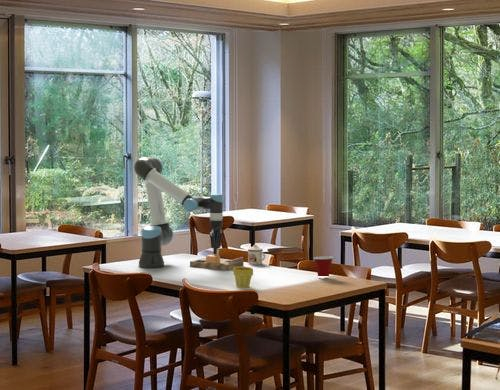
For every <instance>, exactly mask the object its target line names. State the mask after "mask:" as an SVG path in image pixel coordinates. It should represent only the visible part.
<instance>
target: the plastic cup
mask: <svg viewBox="0 0 500 390" xmlns="http://www.w3.org/2000/svg"><path fill="white" fill-rule="evenodd" d="M333 258H334V256H329V255H328V256H323V255H321V256H315V257H313V259H314V262H315V266H316V267H315V268H316V273H317V277H318V276H329V277H330V273H331V267H332V263H333V262H332V261H333Z"/></svg>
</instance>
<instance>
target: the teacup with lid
mask: <svg viewBox="0 0 500 390" xmlns="http://www.w3.org/2000/svg"><path fill="white" fill-rule="evenodd" d="M265 259H266V254H265V253H264V252H263V248H262V247H260V246H258V245H257V244H253V246H251V247H248V248H247V264H248V263H249V264H248V265H251V264H253V265H252V266H255V265H256V266H257V265H262V264H263V262H264V260H265Z"/></svg>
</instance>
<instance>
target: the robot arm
mask: <svg viewBox="0 0 500 390" xmlns="http://www.w3.org/2000/svg"><path fill="white" fill-rule="evenodd" d="M163 169H164V168H163V163H162V161H161V160H160V158H157V157H154V156H147V157H140V158H139V159H137V160H136V161H135V162H134V166H133V170H134V173H135V174H136V175H137V176H138V177H139V178H140V179H142V181H143V183H145V188H146V193H147V201H148V206H149V213H150V219H151V223H150V224H149V226H144V227H142V229H141V233H140V234H141V254H140V258H139V261H138V267H140V268H144V269H157V268H163V267H165V261H164V258H163V254H162V246H166V245H168V244H170V243H171V242H172V240H173V239H174V231H173V229H172V227H170V223H169V221H168V220H167V219H166V214H165V208H164V202H163V195H162V192H163V193H164V194H166V195H167V196H169V197H170V198H171V199H173V200H174V201H176V203H179V204H180V205H182V206H183V208H184V210H185V211H186V212H189V213H191V212H195V211H199V210H200V211H201V210H209V226H210V227H211V232H209V233H208V234H209V239H210V247H211V249H213V250H212V251H213V254H212V255H219V253H220V251H219V249H221V247H222V242H223V241H222V240H223V233H224V230H222V227H223V226H224V225H223V221H224V220H223V217H224V215H223V214H224V213H223V210H224V207H223V205H224V203H223V202H224V199H223V198H224V196H223V194H221V193H211V194H210V195H209V196H195V195H194V196H192V195H191V194H189V193H188V192H187V191H185V190H184V189H183V188H181V187H179V186H178V185H177V184H175V183H174V182H172V181H171V180H170V179H168V178H167V177H165V176H164V175H162V172H163Z"/></svg>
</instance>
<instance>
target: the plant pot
mask: <svg viewBox="0 0 500 390" xmlns="http://www.w3.org/2000/svg"><path fill="white" fill-rule="evenodd" d="M232 271H233V273H232V274H233V275H234V279H235V285H236V287H237V288H240V289H241V288H242V289H247V288H246V287H248V288H250V284H251V280H252V276H253V275H254V268H253V267H249V266H248V267H247V266H243V267H235V268H234V269H232Z"/></svg>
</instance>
